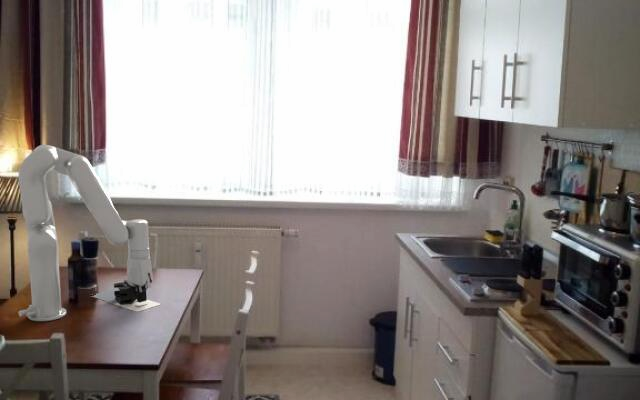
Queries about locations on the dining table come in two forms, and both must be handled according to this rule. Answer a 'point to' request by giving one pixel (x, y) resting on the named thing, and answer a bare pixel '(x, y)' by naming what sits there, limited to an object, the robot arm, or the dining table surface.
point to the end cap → (125, 293)
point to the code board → (139, 305)
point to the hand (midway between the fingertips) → (141, 301)
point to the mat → (107, 296)
